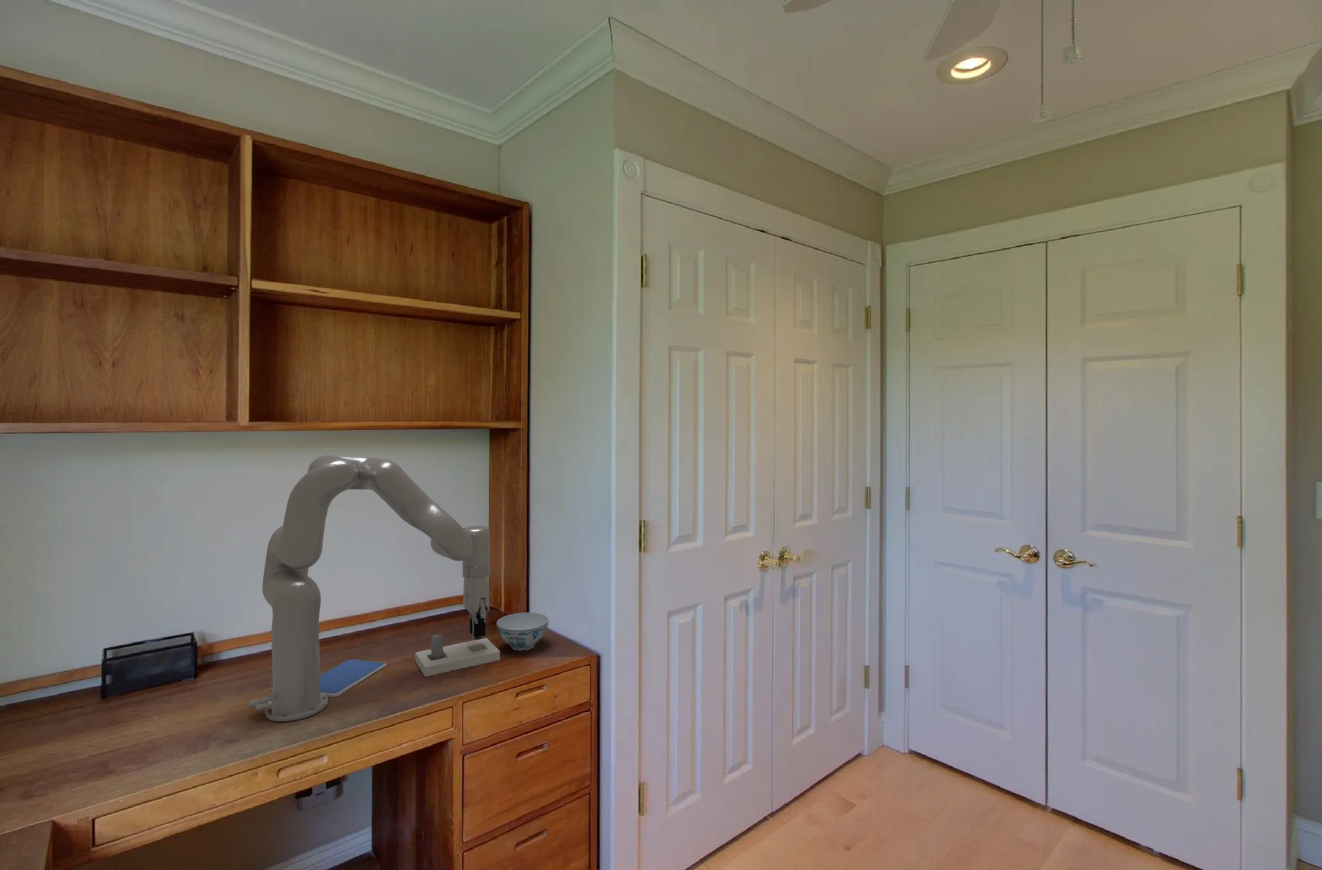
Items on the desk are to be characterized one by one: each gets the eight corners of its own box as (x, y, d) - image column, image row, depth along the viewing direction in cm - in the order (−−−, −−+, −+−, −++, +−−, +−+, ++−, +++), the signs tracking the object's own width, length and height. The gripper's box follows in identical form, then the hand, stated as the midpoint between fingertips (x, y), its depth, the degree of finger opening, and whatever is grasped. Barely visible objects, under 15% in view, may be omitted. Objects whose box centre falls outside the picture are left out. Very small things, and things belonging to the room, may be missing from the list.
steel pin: (474, 640, 174) (473, 612, 173) (471, 637, 176) (470, 609, 176) (484, 638, 175) (484, 610, 175) (481, 635, 178) (481, 607, 178)
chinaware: (485, 650, 180) (485, 624, 180) (521, 634, 193) (521, 609, 193) (525, 660, 173) (524, 633, 173) (559, 643, 186) (559, 617, 186)
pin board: (425, 676, 162) (424, 646, 162) (415, 661, 172) (414, 632, 172) (499, 660, 173) (499, 631, 173) (486, 646, 183) (486, 619, 183)
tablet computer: (335, 699, 151) (335, 694, 151) (292, 694, 154) (292, 688, 154) (388, 667, 170) (388, 662, 170) (349, 663, 173) (349, 658, 173)
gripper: (455, 566, 180) (456, 628, 181) (471, 579, 166) (472, 646, 167) (481, 562, 184) (482, 623, 185) (499, 574, 170) (500, 640, 171)
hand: (477, 633), depth 176 cm, fingers closed on steel pin, 3 cm apart
